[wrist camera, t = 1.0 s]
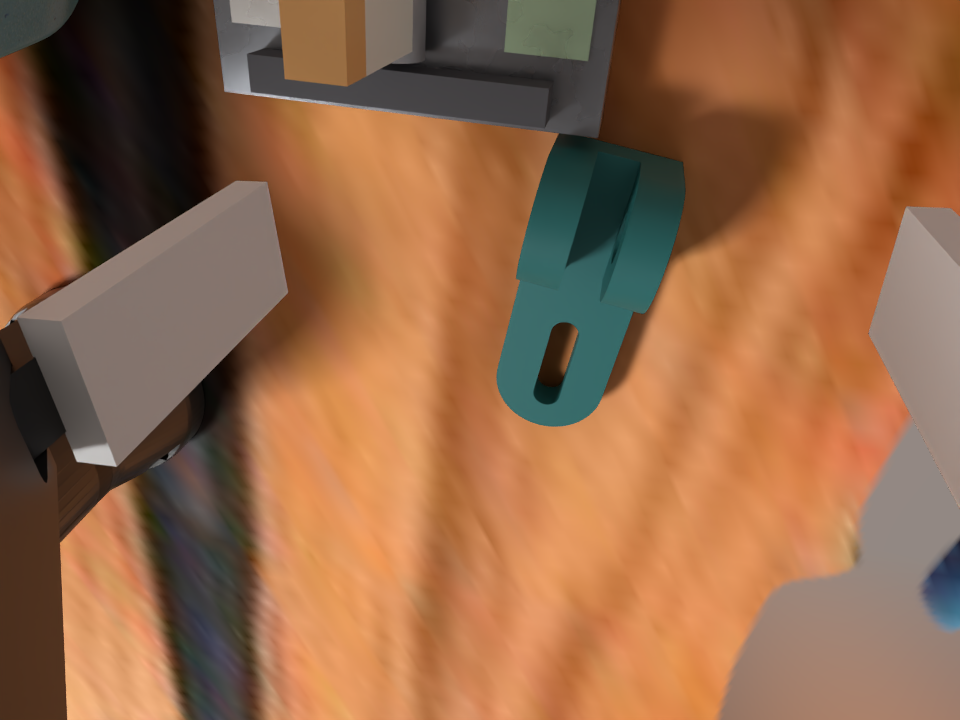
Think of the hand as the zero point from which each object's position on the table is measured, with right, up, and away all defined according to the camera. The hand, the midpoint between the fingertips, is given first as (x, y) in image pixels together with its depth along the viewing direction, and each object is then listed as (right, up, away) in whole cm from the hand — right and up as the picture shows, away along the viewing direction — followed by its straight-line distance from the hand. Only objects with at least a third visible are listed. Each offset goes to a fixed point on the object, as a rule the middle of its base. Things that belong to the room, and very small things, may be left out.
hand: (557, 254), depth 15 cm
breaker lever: (-5, +15, +18) cm, 24 cm away
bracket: (+4, +2, +28) cm, 29 cm away
